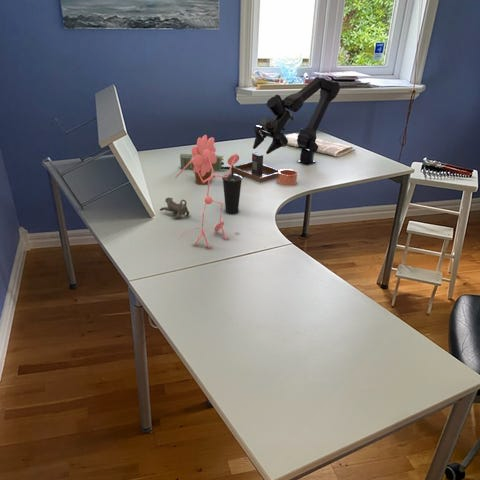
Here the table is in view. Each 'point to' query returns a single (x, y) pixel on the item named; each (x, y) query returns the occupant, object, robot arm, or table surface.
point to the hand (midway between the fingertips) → (260, 151)
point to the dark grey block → (257, 163)
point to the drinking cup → (232, 192)
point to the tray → (246, 171)
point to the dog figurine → (176, 207)
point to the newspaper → (323, 146)
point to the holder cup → (287, 177)
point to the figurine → (202, 161)
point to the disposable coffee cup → (198, 180)
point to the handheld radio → (187, 158)
